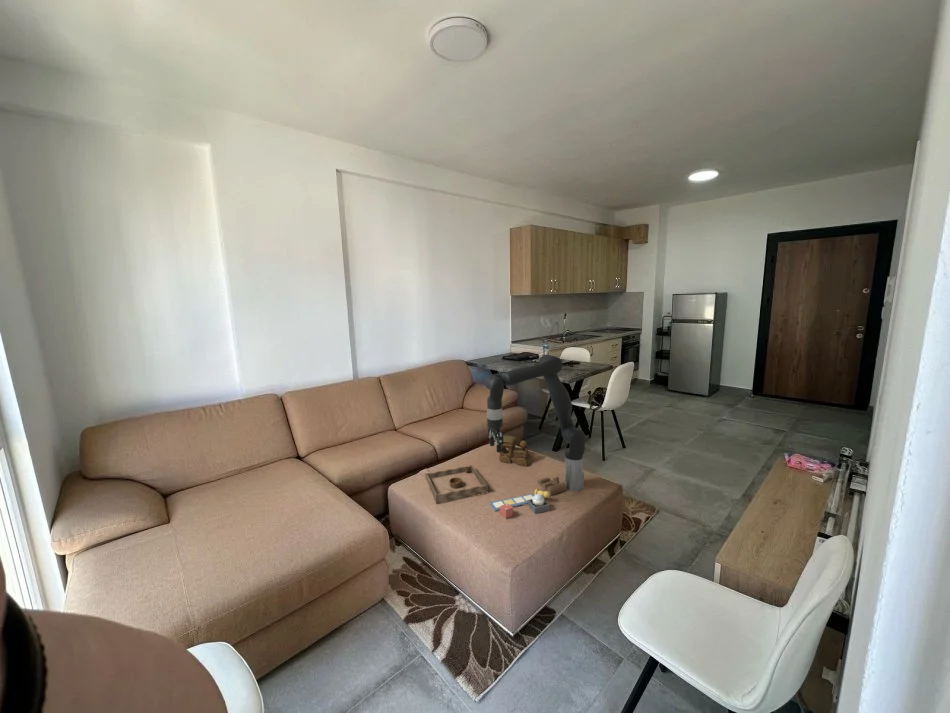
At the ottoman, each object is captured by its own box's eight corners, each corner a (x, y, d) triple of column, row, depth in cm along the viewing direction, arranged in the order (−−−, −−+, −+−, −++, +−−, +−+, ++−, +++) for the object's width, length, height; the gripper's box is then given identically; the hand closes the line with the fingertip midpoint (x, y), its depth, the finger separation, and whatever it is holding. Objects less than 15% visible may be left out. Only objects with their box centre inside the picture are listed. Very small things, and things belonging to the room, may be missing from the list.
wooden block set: (534, 477, 208) (549, 473, 212) (537, 493, 206) (553, 489, 211) (553, 479, 192) (569, 474, 196) (557, 497, 190) (573, 492, 195)
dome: (540, 499, 189) (540, 490, 188) (546, 505, 184) (546, 496, 183) (530, 501, 187) (530, 492, 186) (536, 507, 182) (535, 498, 181)
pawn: (538, 496, 195) (551, 498, 191) (534, 498, 191) (548, 500, 187) (537, 488, 195) (551, 489, 192) (534, 489, 192) (547, 491, 188)
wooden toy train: (496, 466, 233) (496, 440, 230) (503, 458, 243) (502, 434, 241) (528, 471, 225) (528, 444, 222) (533, 463, 235) (533, 437, 233)
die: (507, 511, 183) (507, 503, 182) (513, 515, 179) (513, 507, 179) (500, 514, 181) (499, 506, 180) (505, 519, 177) (505, 510, 176)
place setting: (438, 485, 211) (437, 475, 210) (467, 475, 223) (467, 465, 222) (455, 498, 197) (455, 487, 196) (485, 486, 209) (485, 476, 208)
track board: (532, 494, 198) (532, 492, 198) (539, 501, 191) (539, 499, 191) (489, 503, 190) (489, 502, 190) (495, 511, 183) (494, 509, 183)
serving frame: (472, 473, 224) (471, 465, 223) (488, 494, 200) (487, 485, 199) (425, 481, 215) (425, 473, 214) (436, 504, 191) (436, 495, 190)
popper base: (541, 502, 191) (541, 496, 190) (549, 510, 183) (549, 504, 183) (527, 505, 188) (527, 500, 188) (534, 513, 181) (534, 508, 180)
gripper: (508, 420, 177) (508, 453, 180) (496, 411, 190) (496, 442, 193) (493, 422, 175) (494, 455, 177) (482, 413, 188) (483, 444, 190)
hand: (495, 448), depth 185 cm, fingers open, 8 cm apart
